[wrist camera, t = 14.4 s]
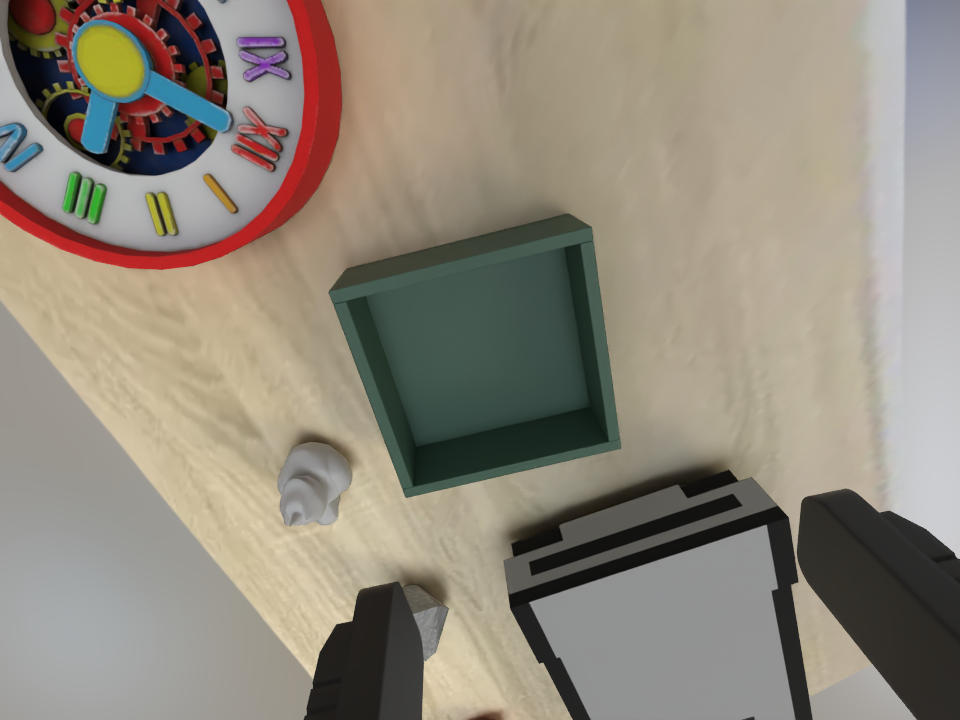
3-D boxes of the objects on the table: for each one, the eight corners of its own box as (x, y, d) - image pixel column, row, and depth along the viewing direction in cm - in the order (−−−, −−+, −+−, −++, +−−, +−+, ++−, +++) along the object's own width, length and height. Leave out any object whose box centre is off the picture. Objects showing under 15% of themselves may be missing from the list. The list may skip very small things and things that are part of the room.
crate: (345, 268, 34) (328, 291, 29) (569, 213, 33) (591, 226, 28) (410, 452, 40) (405, 498, 35) (598, 409, 40) (621, 448, 34)
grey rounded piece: (339, 422, 39) (314, 488, 31) (369, 487, 41) (352, 562, 34) (273, 440, 39) (234, 510, 32) (308, 503, 41) (279, 581, 34)
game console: (594, 724, 57) (617, 813, 49) (499, 528, 44) (510, 608, 36) (773, 671, 55) (824, 755, 47) (727, 450, 42) (788, 517, 34)
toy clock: (-137, -387, 17) (385, -40, 22) (0, -263, 23) (397, -5, 28) (-164, 152, 24) (244, 329, 29) (-53, 150, 29) (276, 299, 34)
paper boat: (459, 651, 48) (366, 690, 46) (438, 584, 52) (351, 618, 49) (462, 639, 38) (344, 689, 36) (437, 558, 42) (327, 599, 40)
